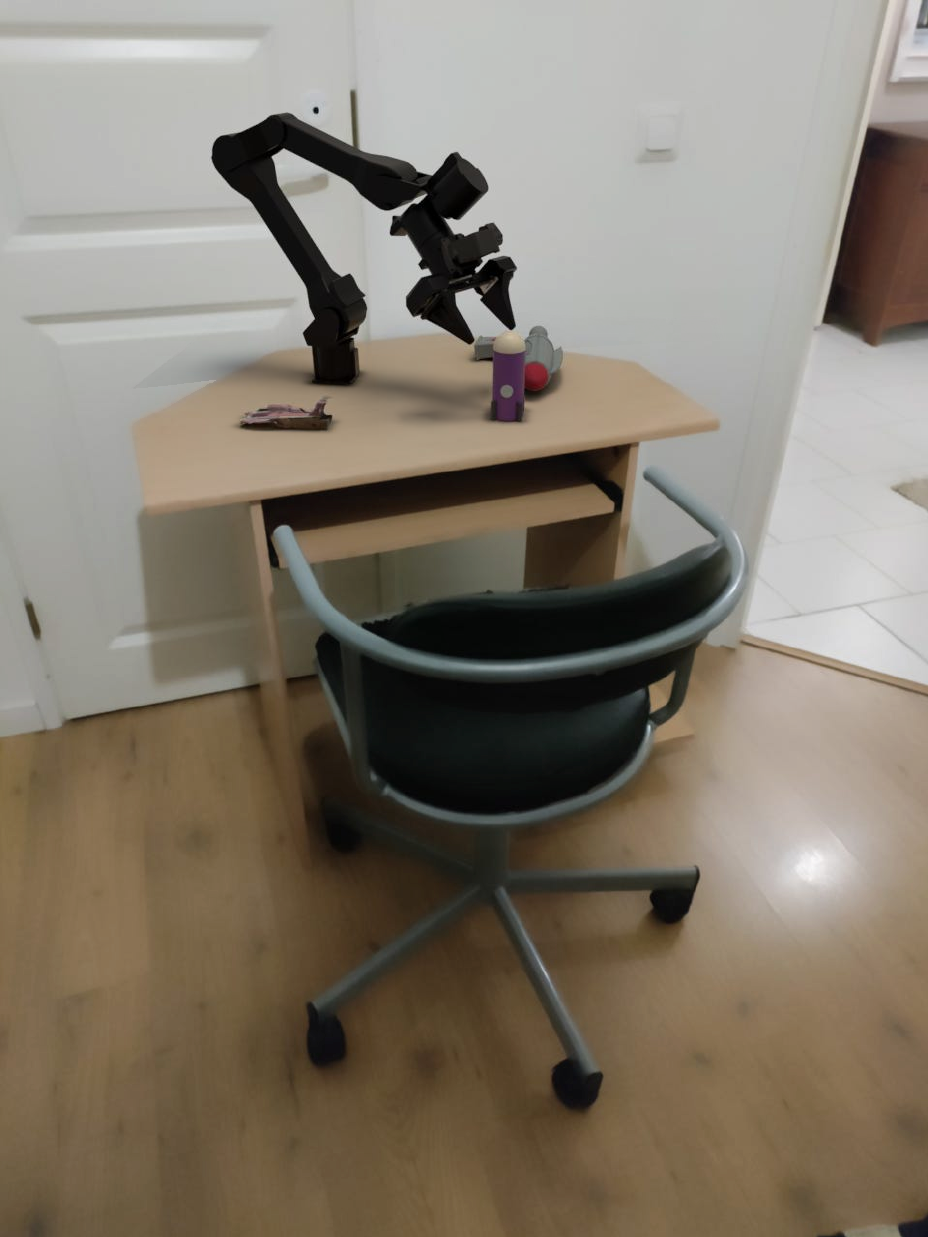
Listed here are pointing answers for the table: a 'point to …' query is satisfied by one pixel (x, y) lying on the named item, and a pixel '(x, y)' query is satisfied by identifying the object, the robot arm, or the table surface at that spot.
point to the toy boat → (291, 415)
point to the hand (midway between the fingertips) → (493, 335)
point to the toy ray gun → (530, 357)
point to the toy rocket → (508, 377)
